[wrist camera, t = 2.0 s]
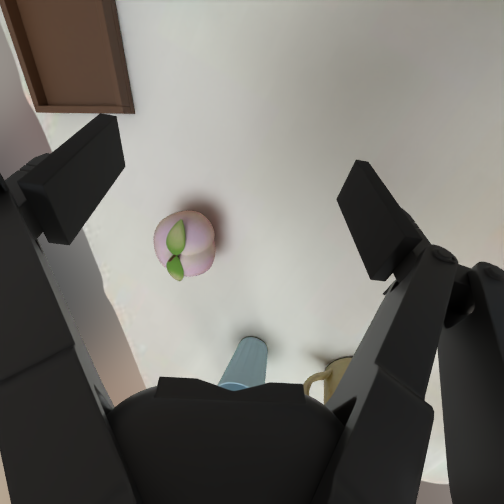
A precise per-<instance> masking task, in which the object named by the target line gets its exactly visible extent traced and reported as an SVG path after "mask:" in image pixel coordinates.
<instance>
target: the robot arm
mask: <svg viewBox="0 0 504 504" xmlns="http://www.w3.org/2000/svg"><path fill="white" fill-rule="evenodd" d="M124 168H125V161H124V156H123V150H122V144H121V139H120V133H119V128H118V122H117V117H116V116H113V115H107V114H101V113H100V114H99V115H98V116H97V117H95V118H94V119H93V120H92V121H90V122H89V123H88V124H87V125H85V126H84V127H83V128H82V129H81V130H79V131H78V132H77V133H76V134H74V135H73V136H72V137H71V138H70V139H68V140H67V141H66V142H65V143H63V144H62V145H61V146H60V147H59V148H57V149H56V150H55V151H54V152H52V153H51V154H49V153H46V154H43V155H40V156H38V157H35V158H33V159H32V160H31V161H29V162H28V163H27V164H26V165H24V166H23V167H22V168H20V171H16V172H15V173H14V174H13V175H11V176H10V177H9V178H7V179H6V180H5V181H4V179H3V177H2V175H1V174H0V452H1V457H2V462H3V466H4V471H5V476H6V481H7V486H8V490H9V495H10V500H11V504H416V500H417V495H418V491H419V486H420V481H421V477H422V472H423V467H424V463H425V458H426V453H427V449H428V444H429V439H430V435H431V430H432V425H433V420H434V410H433V408H432V406H431V405H429V404H428V403H427V402H425V394H426V390H427V386H428V382H429V378H430V374H431V370H432V366H433V362H434V358H435V354H436V350H437V347H438V359H439V372H440V384H441V396H442V408H443V421H444V433H445V445H446V458H447V470H448V478H449V486H450V493H451V498H452V503H453V504H504V271H503V270H502V269H500V268H499V267H497V266H494V265H492V264H490V263H487V262H479V263H477V264H476V265H475V266H474V267H472V268H468V267H465V266H462V265H459V264H458V260H457V259H456V257H455V256H454V255H453V254H452V253H451V252H449V251H448V250H446V249H445V248H442V247H440V246H437V245H431V243H430V242H429V241H428V239H427V238H426V236H425V235H424V234H423V232H422V231H421V230H420V229H419V227H418V225H417V224H416V223H415V221H414V220H413V219H412V217H411V216H410V215H409V214H408V213H407V212H406V211H405V210H403V209H402V208H401V207H400V206H399V205H398V203H397V202H396V200H395V199H394V198H393V196H392V195H391V193H390V192H389V190H388V189H387V188H386V186H385V185H384V183H383V182H382V181H381V179H380V178H379V176H378V175H377V174H376V172H375V171H374V169H373V168H372V166H371V165H370V164H369V162H366V161H361V160H356V161H355V163H354V165H353V167H352V169H351V171H350V173H349V175H348V177H347V179H346V181H345V183H344V185H343V187H342V189H341V191H340V193H339V195H338V197H337V199H336V200H337V202H338V204H339V207H340V209H341V211H342V214H343V216H344V218H345V221H346V223H347V226H348V228H349V230H350V233H351V235H352V237H353V240H354V242H355V244H356V247H357V249H358V251H359V254H360V256H361V258H362V261H363V263H364V266H365V268H366V270H367V273H368V275H369V277H370V280H379V281H386V280H387V279H388V278H389V276H390V275H391V274H392V273H393V274H394V276H395V278H396V280H395V281H394V282H393V283H392V284H391V285H390V286H389V288H388V289H387V290H386V291H385V292H384V293H383V294H384V295H386V296H385V298H384V299H383V301H382V303H381V305H380V307H379V309H378V311H377V313H376V314H375V316H374V318H373V320H372V322H371V324H370V326H369V328H368V330H367V331H366V333H365V335H364V337H363V339H362V341H361V343H360V345H359V347H358V348H357V350H356V352H355V354H354V356H353V358H352V360H351V362H350V363H349V365H348V367H347V369H346V371H345V373H344V375H343V377H342V379H341V380H340V382H339V384H338V386H337V388H336V390H335V392H334V393H333V395H332V396H331V398H330V399H329V400H328V401H327V402H326V404H325V405H323V404H322V403H320V402H319V401H317V400H316V399H314V398H312V397H310V396H308V395H306V394H304V386H303V384H290V383H271V382H270V383H266V384H262V385H258V386H254V387H250V388H245V389H241V390H237V391H231V390H228V389H225V388H222V387H220V386H217V385H214V384H211V383H208V382H205V381H202V380H199V379H194V378H175V377H159V381H158V385H157V386H155V387H151V388H148V389H146V390H143V391H140V392H138V393H136V394H134V395H132V396H130V397H129V398H127V399H126V400H124V401H122V402H121V403H120V404H118V405H117V406H116V407H114V405H113V403H112V401H111V399H110V397H109V395H108V393H107V391H106V389H105V387H104V385H103V383H102V382H101V379H100V377H99V375H98V373H97V370H96V368H95V366H94V364H93V361H92V359H91V357H90V355H89V352H88V350H87V348H86V346H85V343H84V341H83V339H82V337H81V335H80V332H79V330H78V328H77V326H76V323H75V321H74V319H73V317H72V314H71V312H70V310H69V308H68V306H67V303H66V301H65V299H64V296H63V294H62V292H61V290H60V288H59V285H58V283H57V281H56V279H55V277H54V274H53V272H52V270H51V267H50V265H49V263H48V261H47V258H46V256H45V254H44V252H43V250H42V247H41V245H40V243H39V242H38V240H37V238H38V237H39V236H40V235H41V233H42V232H44V234H45V236H46V238H47V240H48V242H49V243H56V244H64V245H70V244H71V242H72V241H73V240H74V238H75V237H76V235H77V234H78V232H79V231H80V230H81V228H82V227H83V226H84V224H85V223H86V221H87V220H88V219H89V217H90V216H91V214H92V213H93V211H94V210H95V209H96V207H97V206H98V204H99V203H100V202H101V200H102V199H103V197H104V196H105V195H106V193H107V192H108V190H109V189H110V187H111V186H112V185H113V183H114V182H115V180H116V179H117V178H118V176H119V175H120V173H121V172H122V171H123V169H124Z"/></svg>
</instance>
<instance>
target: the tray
mask: <svg viewBox="0 0 504 504" xmlns="http://www.w3.org/2000/svg"><path fill="white" fill-rule="evenodd" d="M0 6H1V9H2V12H3V15H4V18H5V21H6V23H7V26H8V29H9V32H10V35H11V38H12V41H13V44H14V47H15V50H16V53H17V56H18V59H19V62H20V65H21V68H22V71H23V74H24V77H25V80H26V83H27V86H28V89H29V92H30V95H31V98H32V101H33V104H34V107H35V110H36V112H42V113H122V114H135V111H134V106H133V100H132V95H131V89H130V83H129V78H128V72H127V66H126V61H125V55H124V50H123V44H122V38H121V33H120V27H119V21H118V16H117V10H116V5H115V0H0Z"/></svg>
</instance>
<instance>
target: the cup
mask: <svg viewBox="0 0 504 504" xmlns="http://www.w3.org/2000/svg"><path fill="white" fill-rule="evenodd" d="M267 354H268V349H267V346H266V345H265V343H264V342H263V341H261V340H260V339H257V338H254V337H247V338H244V339H243V340H241V342H240V343H239V345H238V347H237V349H236V351H235V353H234V355H233V357H232V359H231V361H230V363H229V364H228V366H227V368H226V370H225V372H224V374H223V376H222V378H221V380H220V382H219V384H218V386H220V387H222V388H225V389H228V390H231V391H237V390H241V389H245V388H250V387H254V386H258V385H262V384H265V376H266V365H267Z"/></svg>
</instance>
